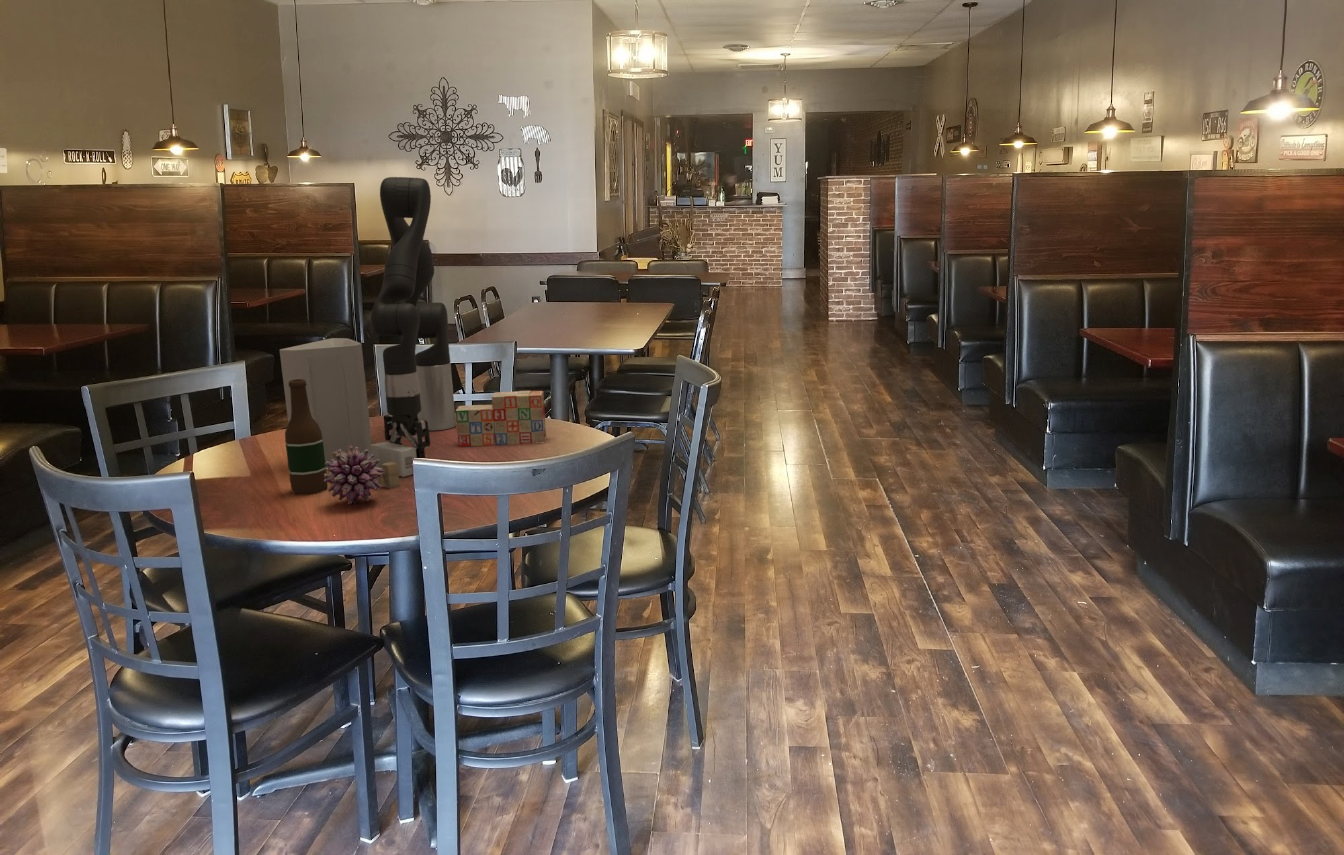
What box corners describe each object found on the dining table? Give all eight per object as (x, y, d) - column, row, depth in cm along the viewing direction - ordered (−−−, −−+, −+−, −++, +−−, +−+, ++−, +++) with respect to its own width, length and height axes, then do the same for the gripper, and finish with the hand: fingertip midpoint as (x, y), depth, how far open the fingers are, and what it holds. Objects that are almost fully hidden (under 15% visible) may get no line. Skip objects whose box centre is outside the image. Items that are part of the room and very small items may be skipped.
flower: (347, 515, 216) (341, 456, 213) (315, 505, 224) (308, 448, 221) (397, 501, 224) (391, 444, 222) (364, 492, 232) (358, 437, 229)
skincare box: (417, 447, 245) (385, 440, 253) (401, 451, 242) (369, 444, 250) (419, 474, 246) (387, 466, 254) (403, 478, 243) (371, 470, 251)
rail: (334, 474, 249) (332, 452, 248) (343, 471, 250) (341, 450, 249) (390, 488, 234) (388, 465, 233) (399, 485, 236) (397, 463, 235)
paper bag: (344, 473, 249) (331, 351, 243) (292, 469, 255) (277, 350, 249) (394, 453, 267) (383, 338, 261) (344, 450, 272) (332, 338, 266)
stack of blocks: (457, 447, 271) (453, 398, 268) (462, 441, 277) (457, 393, 274) (544, 443, 271) (541, 394, 268) (547, 437, 277) (543, 389, 274)
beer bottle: (295, 486, 239) (282, 378, 234) (332, 484, 240) (320, 376, 235) (286, 496, 232) (273, 384, 226) (324, 494, 232) (311, 382, 227)
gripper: (370, 392, 249) (377, 461, 253) (406, 398, 240) (413, 470, 243) (398, 386, 255) (405, 454, 258) (435, 392, 245) (441, 463, 249)
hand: (409, 462), depth 251 cm, fingers open, 8 cm apart
